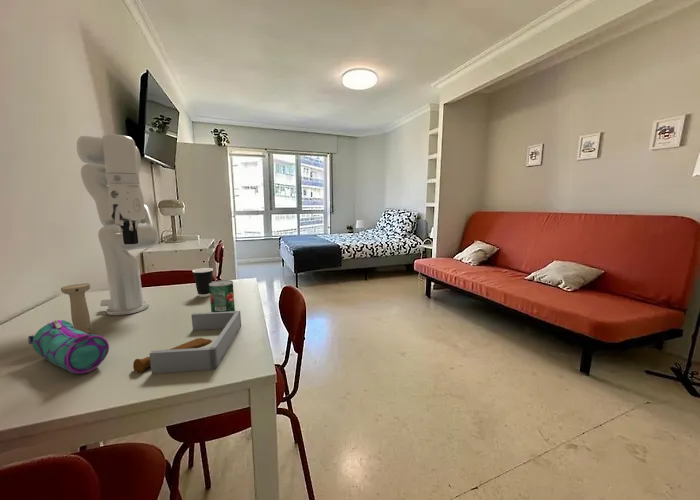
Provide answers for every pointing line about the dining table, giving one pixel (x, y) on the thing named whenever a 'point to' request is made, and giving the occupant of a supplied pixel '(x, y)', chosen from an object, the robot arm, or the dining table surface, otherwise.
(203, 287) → the dixie cup
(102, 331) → the dining table surface
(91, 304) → the dining table surface
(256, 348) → the dining table surface
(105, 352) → the pencil case
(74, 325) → the handle
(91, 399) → the dining table surface
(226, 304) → the canned tomato
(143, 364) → the primitive tool
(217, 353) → the box
